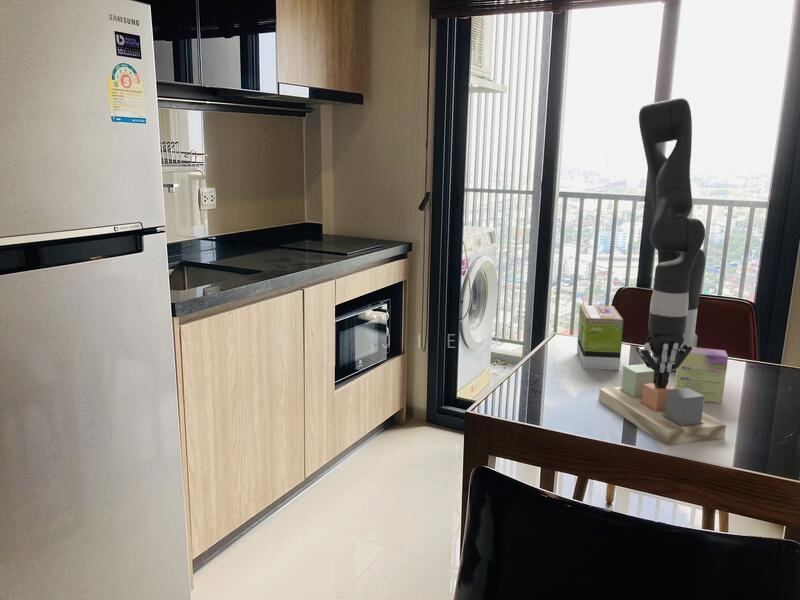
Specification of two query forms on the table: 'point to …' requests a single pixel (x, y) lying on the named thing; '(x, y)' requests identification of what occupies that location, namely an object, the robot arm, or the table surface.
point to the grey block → (684, 407)
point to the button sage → (636, 379)
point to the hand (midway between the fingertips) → (660, 387)
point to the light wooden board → (660, 420)
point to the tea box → (599, 337)
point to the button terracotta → (655, 397)
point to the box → (703, 373)
